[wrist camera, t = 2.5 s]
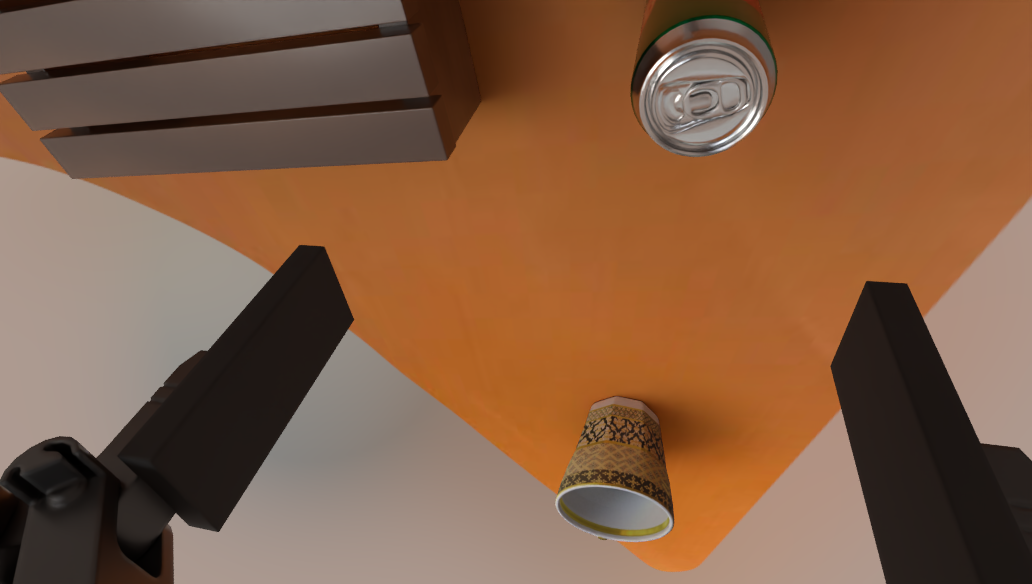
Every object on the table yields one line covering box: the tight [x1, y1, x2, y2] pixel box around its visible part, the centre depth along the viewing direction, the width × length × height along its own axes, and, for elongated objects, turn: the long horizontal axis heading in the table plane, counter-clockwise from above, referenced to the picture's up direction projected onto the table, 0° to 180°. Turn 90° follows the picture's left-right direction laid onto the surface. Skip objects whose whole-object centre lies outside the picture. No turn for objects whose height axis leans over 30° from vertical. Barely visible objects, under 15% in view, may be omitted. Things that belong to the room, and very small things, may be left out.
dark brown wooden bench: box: [0, 0, 481, 179], centre depth 29 cm, size 14×26×12 cm, turn 100°
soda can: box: [631, 0, 778, 157], centre depth 23 cm, size 5×5×12 cm
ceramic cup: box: [555, 396, 674, 542], centre depth 51 cm, size 13×10×10 cm
